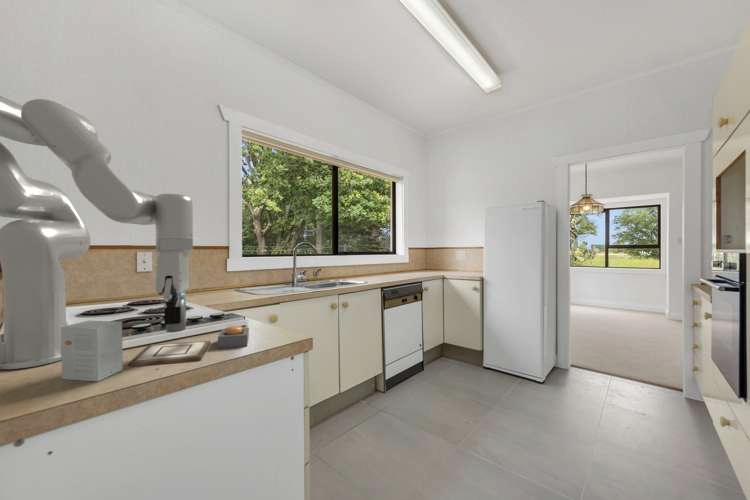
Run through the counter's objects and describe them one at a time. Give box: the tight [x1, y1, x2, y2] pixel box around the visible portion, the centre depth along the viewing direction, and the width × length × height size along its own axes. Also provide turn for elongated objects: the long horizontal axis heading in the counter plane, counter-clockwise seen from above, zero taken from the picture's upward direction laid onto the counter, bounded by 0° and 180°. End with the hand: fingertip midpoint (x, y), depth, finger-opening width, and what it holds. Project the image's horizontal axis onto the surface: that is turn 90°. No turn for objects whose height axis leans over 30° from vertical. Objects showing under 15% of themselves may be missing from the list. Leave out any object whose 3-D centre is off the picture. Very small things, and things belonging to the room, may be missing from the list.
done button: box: [225, 325, 243, 335], centre depth 85 cm, size 4×4×2 cm
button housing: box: [217, 327, 250, 349], centre depth 85 cm, size 7×7×3 cm
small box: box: [60, 320, 124, 383], centre depth 63 cm, size 8×6×10 cm
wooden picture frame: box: [128, 340, 211, 367], centre depth 76 cm, size 14×12×1 cm
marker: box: [165, 291, 187, 333], centre depth 76 cm, size 4×4×10 cm
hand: (175, 320), depth 76 cm, fingers closed on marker, 4 cm apart
